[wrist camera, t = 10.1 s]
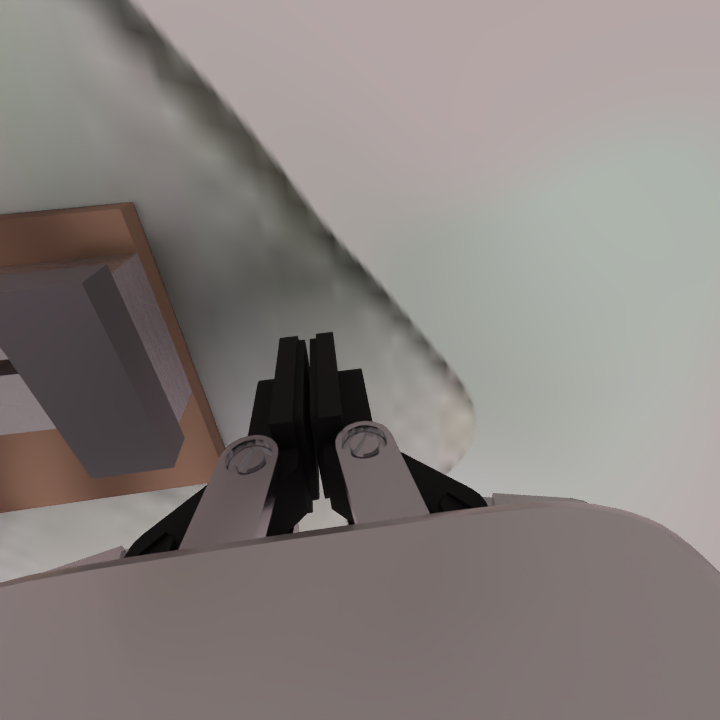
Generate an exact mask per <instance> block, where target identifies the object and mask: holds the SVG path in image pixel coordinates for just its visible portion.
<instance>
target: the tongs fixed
mask: <svg viewBox="0 0 720 720" xmlns="http://www.w3.org/2000/svg"><path fill="white" fill-rule="evenodd" d="M102 264H107V265H108V267H109V269H110V272H111V274H112V276H113V278H114V281H115V283H116V285H117V287H118V289H119V292H120V294H121V296H122V298H123V301H124V303H125V305H126V307H127V310H128V312H129V314H130V316H131V318H132V321H133V323H134V325H135V327H136V330H137V332H138V334H139V336H140V338H141V341H142V343H143V345H144V347H145V350H146V352H147V354H148V356H149V359H150V361H151V363H152V365H153V367H154V370H155V372H156V374H157V376H158V379H159V381H160V383H161V385H162V388H163V390H164V392H165V394H166V396H167V399H168V401H169V403H170V405H171V408H172V410H173V412H174V414H175V416H176V419H177V421H178V423H179V422H180V420H181V417H182V415H183V412H184V410H185V407H186V405H187V402H188V400H189V397H190V395H191V392H192V389H191V387H190V384H189V381H188V379H187V376H186V374H185V371H184V369H183V366H182V364H181V361H180V359H179V356H178V354H177V351H176V349H175V346H174V344H173V341H172V339H171V336H170V334H169V331H168V329H167V326H166V323H165V321H164V318H163V316H162V313H161V311H160V308H159V306H158V303H157V301H156V298H155V296H154V293H153V291H152V288H151V286H150V283H149V281H148V278H147V276H146V273H145V271H144V268H143V266H142V263H141V260H140V258H139V255H138V253H137V252H135V253H125V254H116V255H106V256H96V257H87V258H77V259H67V260H58V261H48V262H38V263H29V264H19V265H9V266H0V277H1V276H3V275H6V274H16V273H25V272H35V271H44V270H54V269H63V268H73V267H82V266H92V265H102ZM5 359H8V358H7V356H6V355H5V353H4V352H3V351H2V349H1V348H0V360H5Z"/></svg>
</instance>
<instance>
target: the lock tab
mask: <svg viewBox="0 0 720 720" xmlns="http://www.w3.org/2000/svg"><path fill="white" fill-rule="evenodd" d="M0 348H1V349H2V351H3V352H4V353H5V355H6V356H7V358H8V359H9V361H10V362H11V363H12V365H13V366H14V368H15V369H16V371H17V372H18V374H19V375H20V376H21V378H22V379H23V381H24V382H25V384H26V385H27V386H28V388H29V389H30V391H31V392H32V394H33V395H34V397H35V398H36V399H37V401H38V402H39V404H40V405H41V407H42V408H43V410H44V411H45V412H46V414H47V415H48V417H49V418H50V420H51V421H52V422H53V424H54V425H55V427H56V428H57V430H58V431H59V433H60V434H61V435H62V437H63V438H64V440H65V441H66V443H67V444H68V445H69V447H70V448H71V450H72V451H73V453H74V454H75V456H76V457H77V458H78V460H79V461H80V463H81V464H82V466H83V467H84V469H85V470H86V471H87V473H88V474H89V476H90V477H91V479H96V478H103V477H111V476H118V475H125V474H132V473H139V472H146V471H153V470H160V469H167V468H174V466H175V463H176V461H177V458H178V455H179V452H180V450H181V447H182V444H183V442H184V439H185V437H184V434H183V432H182V430H181V428H180V425H179V423H178V421H177V419H176V416H175V414H174V412H173V410H172V408H171V405H170V403H169V401H168V399H167V396H166V394H165V392H164V390H163V388H162V385H161V383H160V381H159V379H158V376H157V374H156V372H155V370H154V367H153V365H152V363H151V361H150V359H149V356H148V354H147V352H146V350H145V347H144V345H143V343H142V341H141V338H140V336H139V334H138V332H137V330H136V327H135V325H134V323H133V321H132V318H131V316H130V314H129V312H128V310H127V307H126V305H125V303H124V301H123V298H122V296H121V294H120V292H119V289H118V287H117V285H116V283H115V281H114V278H113V276H112V274H111V272H110V269H109V267H108V265H107V264H102V265H92V266H82V267H73V268H63V269H54V270H44V271H35V272H25V273H16V274H6V275H3V276H1V277H0Z"/></svg>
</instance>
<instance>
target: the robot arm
mask: <svg viewBox="0 0 720 720" xmlns="http://www.w3.org/2000/svg"><path fill="white" fill-rule="evenodd" d="M319 470H320V475H321V480H322V485H323V491H324V496H325V498H330V501H331V506H332V509H333V510H334V511H336V512H337V513H339V514H340V515H341V516H343V517H344V518H346V520H347V525H346V526H339V527H332V528H325V529H318V530H311V531H304V532H299V524H298V522H299V521H300V520H301V519H302V518H303V517H304V516H305V515H306V514H307V513H312V512H313V500H318V499H319ZM0 720H720V572H719V571H718V570H717V569H716V568H715V567H714V566H713V565H712V564H711V563H710V562H708V561H707V560H706V559H705V558H704V557H703V556H702V555H701V554H700V553H699V552H698V551H697V550H695V549H694V548H693V547H692V546H691V545H690V544H688V543H687V542H686V541H685V540H683V539H682V538H681V537H679V536H678V535H677V534H676V533H674V532H672V531H671V530H669V529H668V528H666V527H665V526H663V525H661V524H659V523H657V522H655V521H653V520H651V519H649V518H645V517H643V516H640V515H637V514H634V513H631V512H627V511H624V510H620V509H616V508H611V507H606V506H601V505H596V504H589V503H587V502H585V501H582V500H577V499H573V498H559V497H543V496H527V495H513V494H498V493H493V495H492V498H490V497H482V496H481V495H480V494H478V493H477V492H476V491H474V490H473V489H471V488H469V487H467V486H465V485H464V484H462V483H460V482H458V481H456V480H454V479H452V478H450V477H448V476H446V475H444V474H442V473H440V472H438V471H436V470H435V469H433V468H431V467H429V466H427V465H425V464H423V463H421V462H419V461H417V460H415V459H413V458H411V457H409V456H408V455H406V454H404V453H402V452H400V450H399V448H398V446H397V444H396V442H395V440H394V438H393V436H392V434H391V433H390V431H389V430H388V429H387V428H386V427H385V426H383V425H382V424H379V423H376V422H372V418H371V413H370V408H369V403H368V398H367V393H366V388H365V383H364V378H363V374H362V369H353V370H345V371H338V370H337V362H336V354H335V345H334V337H333V332H328V333H320V334H316V338H315V339H310V366H309V360H308V355H307V349H306V343H305V340H299V339H298V336H293V337H285V338H280V340H279V348H278V356H277V364H276V371H275V379H271V380H262V381H259V382H258V385H257V390H256V396H255V401H254V406H253V412H252V417H251V422H250V428H249V433H248V436H246V437H244V438H241V439H238V440H237V441H235V442H233V443H232V444H230V445H229V446H228V447H227V448H226V449H225V450H224V451H223V453H222V454H221V456H220V458H219V460H218V462H217V464H216V467H215V469H214V471H213V473H212V476H211V478H210V480H209V482H208V485H206V486H205V487H204V488H202V489H201V490H200V491H199V492H197V493H196V494H195V495H193V496H192V497H191V498H190V499H188V500H187V501H186V502H184V503H183V504H182V505H180V506H179V507H178V508H177V509H175V510H174V511H173V512H171V513H170V514H169V515H168V516H166V517H165V518H164V519H162V520H161V521H160V522H158V523H157V524H156V525H155V526H153V527H152V528H151V529H149V530H148V531H147V532H146V533H144V534H143V535H142V536H141V537H140V538H139V539H138V540H136V541H135V542H134V543H133V545H132V546H131V547H130V548H129V549H126V550H125V549H124V548H123V547H122V546H120V547H117V548H114V549H111V550H108V551H105V552H102V553H99V554H96V555H93V556H90V557H87V558H84V559H81V560H78V561H76V562H73V563H70V564H67V565H64V566H61V567H58V568H55V569H52V570H49V571H46V572H43V573H38V574H33V575H28V576H24V577H20V578H17V579H13V580H9V581H5V582H2V583H0Z"/></svg>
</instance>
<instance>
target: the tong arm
mask: <svg viewBox="0 0 720 720" xmlns="http://www.w3.org/2000/svg"><path fill="white" fill-rule="evenodd" d="M49 429H57V428H56V427H55V425H54V424H53V422H52V421H51V420H50V418H49V417H48V415H47V414H46V412H45V411H44V410H43V408H42V407H41V405H40V404H39V402H38V401H37V399H36V398H35V397H34V395H33V394H32V392H31V391H30V389H29V388H28V386H27V385H26V384H25V382H24V381H23V379H22V378H21V376H20V375H19V374H18V372H17V371H16V369H15V368H14V366H13V365H12V363H11V362H10V361H9V359H5V360H0V435H6V434H15V433H23V432H32V431H41V430H49Z"/></svg>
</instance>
